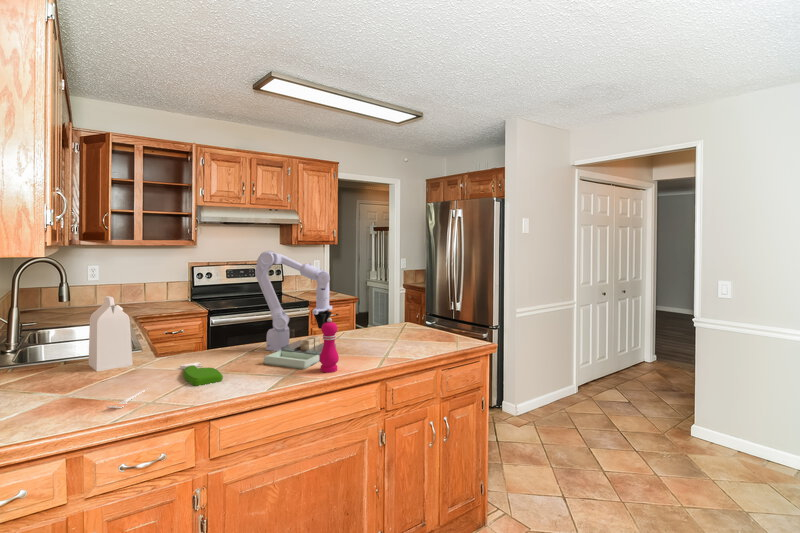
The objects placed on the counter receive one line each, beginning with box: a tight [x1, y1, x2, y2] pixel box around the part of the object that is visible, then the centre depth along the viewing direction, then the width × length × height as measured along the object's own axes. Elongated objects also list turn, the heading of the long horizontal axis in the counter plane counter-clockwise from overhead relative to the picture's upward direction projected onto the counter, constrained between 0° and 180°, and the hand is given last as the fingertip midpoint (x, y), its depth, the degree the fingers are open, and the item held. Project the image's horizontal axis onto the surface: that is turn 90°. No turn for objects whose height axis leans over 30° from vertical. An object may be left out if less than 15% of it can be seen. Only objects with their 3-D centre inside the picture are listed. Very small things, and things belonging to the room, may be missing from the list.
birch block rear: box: [306, 335, 321, 347], centre depth 189 cm, size 4×4×4 cm
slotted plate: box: [281, 339, 337, 358], centre depth 186 cm, size 18×14×4 cm
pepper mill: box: [319, 317, 340, 374], centre depth 165 cm, size 7×7×20 cm
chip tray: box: [263, 350, 320, 370], centre depth 174 cm, size 18×11×3 cm, turn 71°
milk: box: [88, 295, 134, 372], centre depth 166 cm, size 12×12×26 cm
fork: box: [106, 387, 149, 409], centre depth 133 cm, size 3×20×2 cm, turn 1°
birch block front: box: [300, 337, 314, 350], centre depth 185 cm, size 4×4×4 cm
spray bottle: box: [179, 361, 224, 387], centre depth 157 cm, size 3×11×24 cm
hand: (322, 328), depth 197 cm, fingers open, 2 cm apart
